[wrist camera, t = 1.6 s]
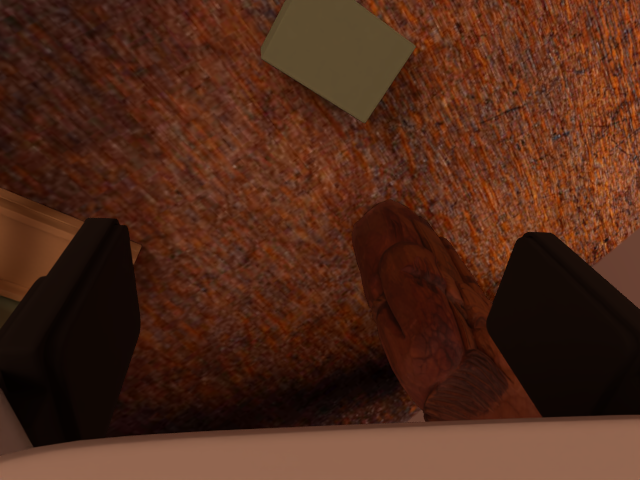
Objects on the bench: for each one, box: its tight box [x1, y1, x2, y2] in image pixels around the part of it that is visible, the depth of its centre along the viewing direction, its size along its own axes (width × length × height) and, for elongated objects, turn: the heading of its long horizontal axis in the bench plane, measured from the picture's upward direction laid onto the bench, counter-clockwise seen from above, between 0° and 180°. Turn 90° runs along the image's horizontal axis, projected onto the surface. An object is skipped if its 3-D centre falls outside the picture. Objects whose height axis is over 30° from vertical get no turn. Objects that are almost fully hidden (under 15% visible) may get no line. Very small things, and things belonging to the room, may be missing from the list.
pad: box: [261, 0, 416, 123], centre depth 26 cm, size 7×5×4 cm
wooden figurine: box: [352, 200, 542, 422], centre depth 29 cm, size 12×6×18 cm, turn 44°
